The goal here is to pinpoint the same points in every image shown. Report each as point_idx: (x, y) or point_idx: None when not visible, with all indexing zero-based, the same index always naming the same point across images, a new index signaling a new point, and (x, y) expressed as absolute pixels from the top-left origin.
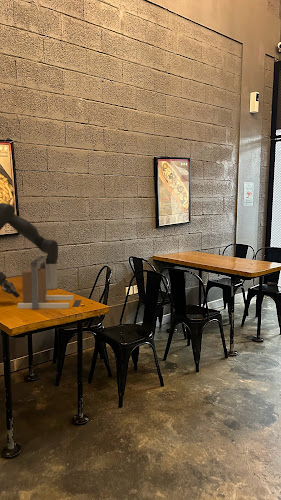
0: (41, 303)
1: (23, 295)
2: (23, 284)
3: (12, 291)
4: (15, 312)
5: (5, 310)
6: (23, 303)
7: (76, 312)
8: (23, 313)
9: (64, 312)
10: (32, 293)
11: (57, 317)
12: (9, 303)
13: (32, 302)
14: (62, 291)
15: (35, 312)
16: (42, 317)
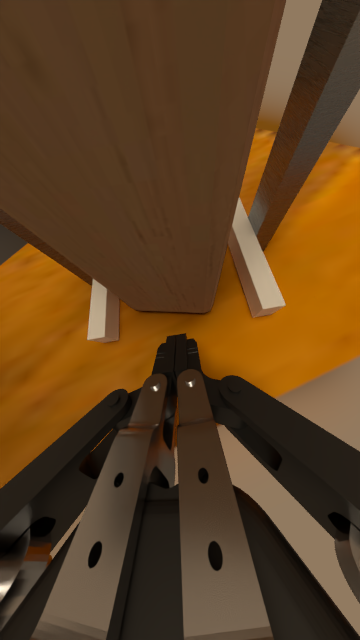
0: (236, 211)
1: (217, 282)
2: (248, 150)
3: (229, 381)
4: (345, 292)
5: (335, 360)
6: (262, 279)
7: (254, 138)
8: (342, 253)
9: (265, 157)
10: (327, 134)
11: (330, 147)
12: None
13: (281, 218)
14: (3, 265)
15: (303, 221)
16: (357, 176)
